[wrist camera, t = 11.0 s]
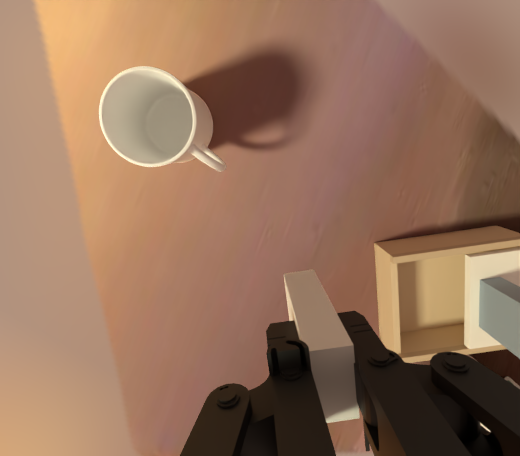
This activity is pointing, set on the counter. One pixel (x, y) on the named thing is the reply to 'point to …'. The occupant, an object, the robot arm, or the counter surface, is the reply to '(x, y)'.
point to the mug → (156, 119)
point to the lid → (492, 299)
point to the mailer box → (430, 290)
